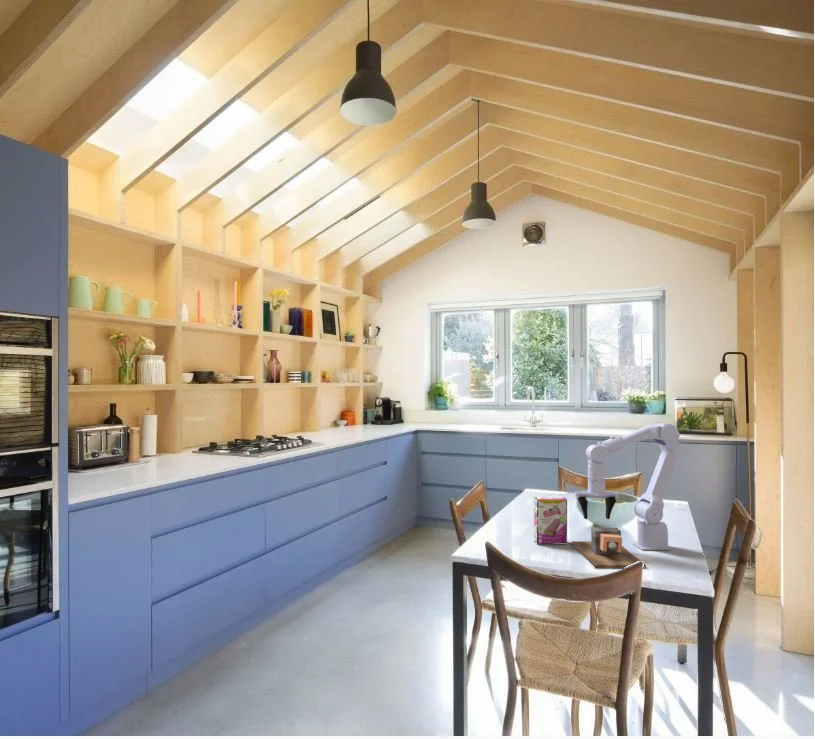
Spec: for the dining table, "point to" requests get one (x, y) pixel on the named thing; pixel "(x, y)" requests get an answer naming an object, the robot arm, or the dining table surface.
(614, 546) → the shaft
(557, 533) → the candy bar box
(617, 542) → the spacer
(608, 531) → the bearing stand
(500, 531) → the dining table surface
